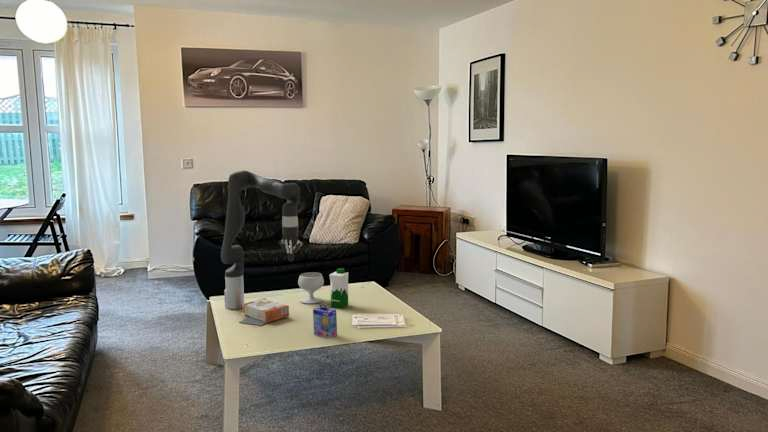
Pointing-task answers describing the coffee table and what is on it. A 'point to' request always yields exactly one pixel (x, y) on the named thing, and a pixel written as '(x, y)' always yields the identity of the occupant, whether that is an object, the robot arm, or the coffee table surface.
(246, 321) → the mat
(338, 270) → the milk carton
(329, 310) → the ink cartridge box
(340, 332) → the coffee table surface
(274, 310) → the cracker box
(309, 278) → the chalice
